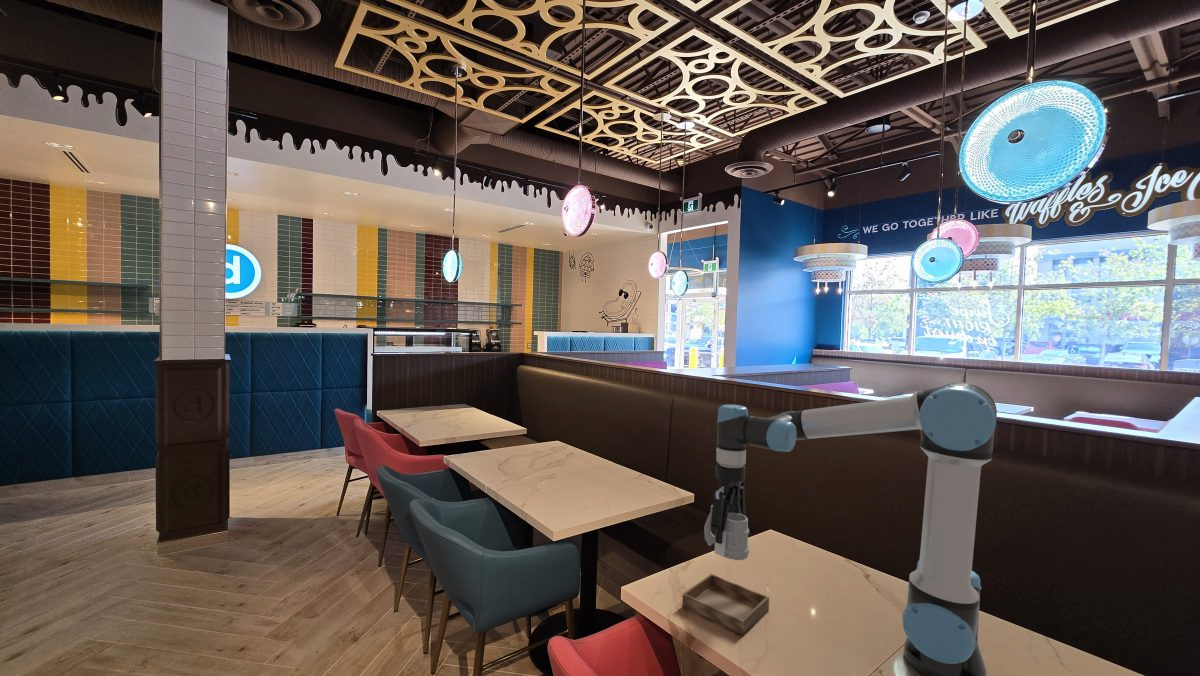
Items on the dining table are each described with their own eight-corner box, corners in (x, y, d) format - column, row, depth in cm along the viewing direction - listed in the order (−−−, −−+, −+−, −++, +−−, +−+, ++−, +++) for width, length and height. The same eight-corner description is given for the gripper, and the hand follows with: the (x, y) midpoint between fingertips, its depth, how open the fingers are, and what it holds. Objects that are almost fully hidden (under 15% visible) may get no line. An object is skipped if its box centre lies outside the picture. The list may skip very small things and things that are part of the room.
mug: (748, 563, 123) (750, 516, 123) (701, 554, 127) (703, 509, 127) (749, 550, 131) (751, 506, 130) (705, 542, 135) (706, 499, 134)
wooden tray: (768, 611, 130) (769, 597, 130) (742, 637, 119) (743, 621, 118) (710, 586, 141) (711, 573, 141) (682, 608, 130) (682, 594, 130)
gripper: (735, 454, 139) (732, 533, 140) (698, 468, 124) (694, 557, 125) (760, 459, 134) (757, 542, 135) (725, 475, 119) (721, 567, 119)
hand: (727, 549), depth 130 cm, fingers closed on mug, 7 cm apart
